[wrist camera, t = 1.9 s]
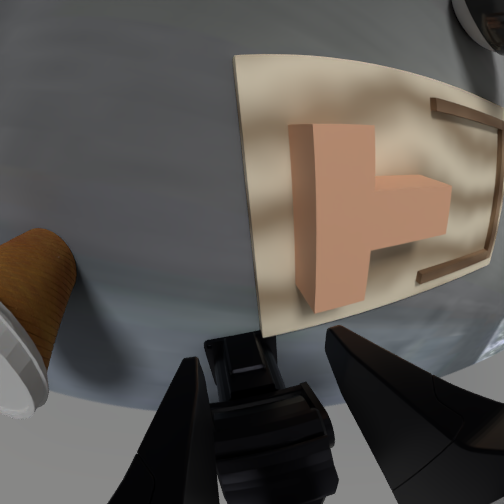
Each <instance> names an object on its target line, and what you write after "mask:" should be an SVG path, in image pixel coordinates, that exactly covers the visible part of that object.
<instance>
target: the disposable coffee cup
mask: <svg viewBox="0 0 504 504" xmlns="http://www.w3.org/2000/svg"><path fill="white" fill-rule="evenodd" d="M76 275H77V273H76V264H75V260H74V257H73V255H72V253H71V251H70V249H69V247H68V246H67V245H66V243H65V242H64V241H63V240H62V239H61V238H60V237H59V236H58V235H56V234H55V233H53V232H51V231H49V230H46V229H41V228H35V229H32V230H29V231H27V232H26V233H23V234H22V235H20V236H17V237H15V238H14V239H12V240H10V241H8V242H6V243H4V244H2V245H0V413H1V414H3V415H6V416H9V417H12V418H17V419H27V418H30V417H31V416H32V415H33V413H34V412H35V410H36V409H37V408H38V407H40V406H42V405H44V404H45V402H46V401H47V398H48V393H49V388H48V378H47V370H48V366H49V362H50V358H51V354H52V352H51V351H52V350H53V347H54V345H53V344H54V343H55V339H56V338H55V337H56V336H57V333H58V329H59V326H60V323H61V320H62V317H63V314H64V311H65V308H66V305H67V302H68V300H69V297H70V294H71V292H72V289H73V287H74V284H75V282H76Z"/></svg>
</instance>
